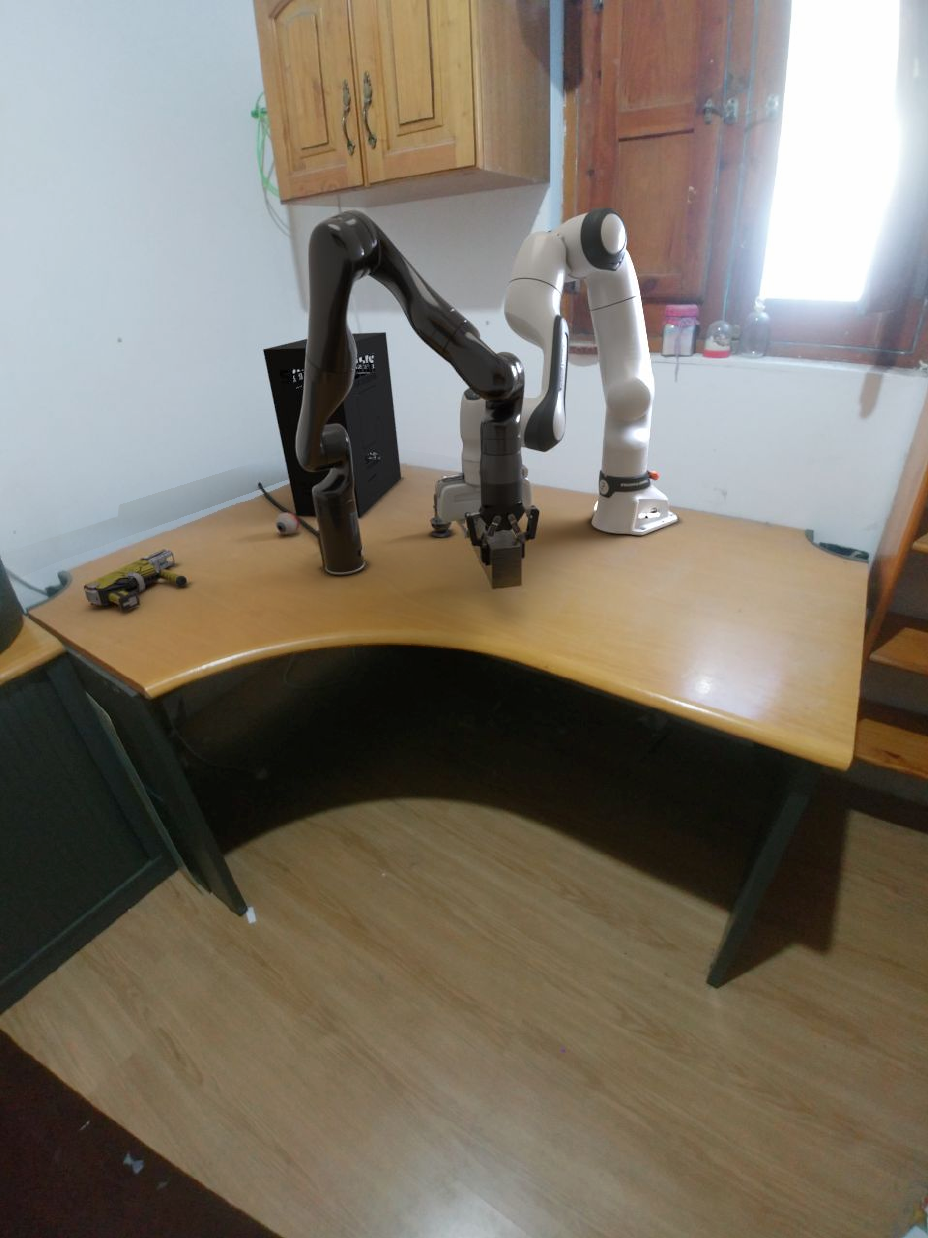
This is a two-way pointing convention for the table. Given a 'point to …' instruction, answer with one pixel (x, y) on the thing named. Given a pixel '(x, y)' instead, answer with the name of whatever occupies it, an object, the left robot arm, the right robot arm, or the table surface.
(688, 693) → the table surface
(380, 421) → the cardboard box
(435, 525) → the salt shaker
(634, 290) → the right robot arm
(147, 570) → the toy gun
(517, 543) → the bar
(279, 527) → the eyeball
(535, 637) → the table surface
